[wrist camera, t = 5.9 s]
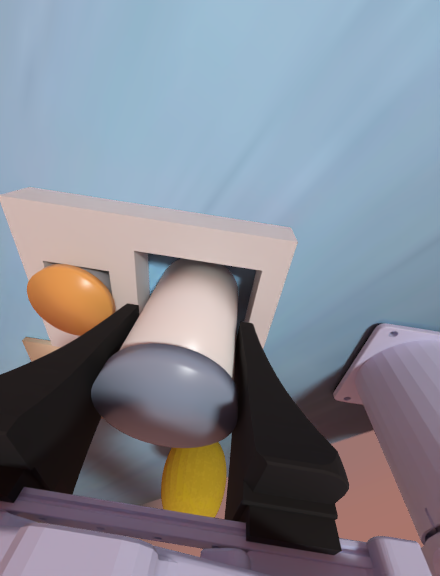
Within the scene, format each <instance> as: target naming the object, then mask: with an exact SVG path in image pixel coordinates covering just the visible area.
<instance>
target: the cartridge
mask: <svg viewBox="0 0 440 576" xmlns="http://www.w3.org/2000/svg"><path fill="white" fill-rule="evenodd" d="M237 310H238V286H237V282H236V280H235V278H234V276H233V275H232V273H231V272H230V271H229V270H228V269H227V268H226V267H225V266H224V265H222V264H216V263H209V262H203V261H197V260H190V259H184V258H181V259H179V260H177V261H175V262H173V263H172V264H171V265H170V266H169V267H168V268H167V269H166V270H165V272H164V274H163V275H162V277H161V279H160V281H159V282H158V284H157V286H156V288H155V289H154V291H153V293H152V295H151V296H150V298H149V300H148V301H147V303H146V305H145V307H144V308H143V310H142V312H141V314H140V315H139V317H138V319H137V321H136V322H135V324H134V326H133V328H132V329H131V331H130V333H129V334H128V336H127V338H126V340H125V341H124V343H123V345H122V347H121V348H120V350H119V351H118V352H116V353H115V354H114V355H112V356H111V357H110V358H109V359H108V360H107V362H106V363H105V365H104V367H103V368H102V370H101V372H100V373H99V375H98V377H97V378H96V380H95V382H94V383H93V386H92V389H91V398H92V402H93V404H94V407H95V408H96V410H97V411H98V413H99V414H100V415H101V416H102V417H103V418H104V419H105V420H106V421H107V422H108V423H109V424H111V425H112V426H113V427H115V428H116V429H118V430H119V431H121V432H123V433H125V434H127V435H129V436H131V437H133V438H136V439H138V440H141V441H144V442H147V443H151V444H155V445H160V446H165V447H173V448H195V447H202V446H207V445H211V444H214V443H216V442H219V441H221V440H223V439H224V438H226V437H227V436H228V435H229V434H230V433H231V432H232V431H233V430H234V428H235V426H236V424H237V419H238V390H237V387H236V385H235V382H234V369H235V350H236V330H237Z"/></svg>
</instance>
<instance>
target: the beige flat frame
mask: <svg viewBox="0 0 440 576" xmlns="http://www.w3.org/2000/svg"><path fill="white" fill-rule="evenodd" d="M0 202H1V205H2V208H3V210H4V213H5V216H6V219H7V222H8V224H9V227H10V230H11V233H12V235H13V238H14V241H15V244H16V247H17V249H18V252H19V255H20V258H21V260H22V263H23V266H24V269H25V272H26V274H27V277H28V280H30V279H31V277H32V276H33V275H35V274H36V273H37V272H39V271H40V270H42V269H43V268H45V267H47V266H49V265H53V264H68V265H73V266H79V267H85V268H92V269H98V270H104V271H109V276H110V283H111V290H112V297H113V299H114V303H115V312H116V311H117V310H119V309H120V308H121V307H123V306H124V305H126V304H127V303H128V304H134V305H139V315H140V314H141V312H142V310H143V308H144V307H145V305H146V303H147V301H148V300H149V298H150V290H149V264H148V253H152V254H158V255H165V256H171V257H177V258H184V259H190V260H197V261H203V262H209V263H216V264H222V265H228V266H235V267H241V268H248V269H254V270H256V274H255V278H254V282H253V287H252V291H251V295H250V299H249V303H248V307H247V311H246V316H245V320H244V322H248V323H253V325H254V327H255V331H256V333H257V336H258V339H259V341H260V344H261V346H262V348H264V344H265V341H266V338H267V335H268V332H269V329H270V326H271V323H272V320H273V317H274V314H275V311H276V307H277V304H278V301H279V298H280V295H281V292H282V289H283V286H284V283H285V280H286V277H287V274H288V270H289V267H290V264H291V261H292V258H293V255H294V252H295V249H296V246H297V243H298V242H297V239H296V237H295V235H294V233H293V231H292V229H291V227H285V226H278V225H272V224H265V223H259V222H252V221H246V220H240V219H233V218H227V217H220V216H214V215H207V214H201V213H195V212H188V211H182V210H175V209H169V208H162V207H156V206H150V205H143V204H137V203H130V202H124V201H117V200H111V199H105V198H98V197H92V196H85V195H79V194H72V193H66V192H60V191H53V190H47V189H40V188H34V187H28V188H24V189H20V190H17V191H13V192H9V193H5V194H1V195H0ZM42 319H43V318H42ZM43 322H44V324H45V327H46V330H47V333H48V335H49V338H50V341H51V344H52V346H56V347H63V346H64V345H66V344H68V343H70V342H71V341H73V340H75V339H77V338H78V337H80V336H78V335H73V334H69V333H66V332H64V331H61V330H59V329H57V328H55V327H54V326H52V325H51V324H49V323H48V322H46V321H45V320H44V319H43ZM236 339H237V335H236Z"/></svg>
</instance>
